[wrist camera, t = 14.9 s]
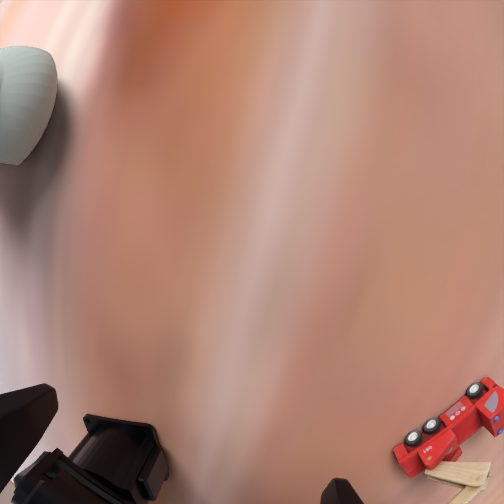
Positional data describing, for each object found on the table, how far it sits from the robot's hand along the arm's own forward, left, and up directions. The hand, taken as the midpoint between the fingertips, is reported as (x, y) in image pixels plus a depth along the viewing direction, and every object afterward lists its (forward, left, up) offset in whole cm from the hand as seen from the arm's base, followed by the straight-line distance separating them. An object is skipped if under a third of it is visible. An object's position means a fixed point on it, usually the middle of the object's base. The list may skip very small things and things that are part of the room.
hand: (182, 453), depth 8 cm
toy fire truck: (+15, -11, -12) cm, 22 cm away
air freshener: (-16, +17, -12) cm, 26 cm away
